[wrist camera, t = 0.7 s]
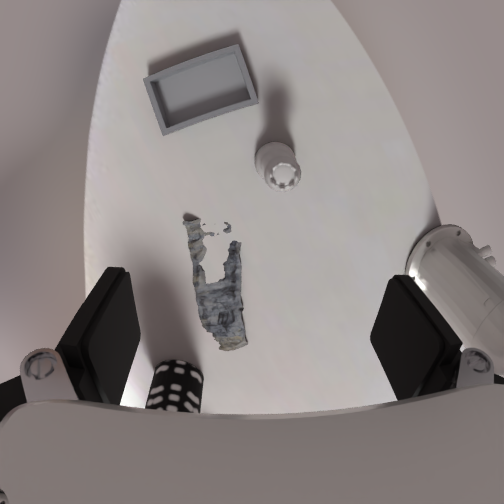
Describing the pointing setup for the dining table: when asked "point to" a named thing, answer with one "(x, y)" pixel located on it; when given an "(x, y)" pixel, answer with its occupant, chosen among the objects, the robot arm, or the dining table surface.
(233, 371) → the dining table surface
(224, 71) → the gray rectangular open tray
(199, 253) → the driftwood
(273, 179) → the rook chess piece
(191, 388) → the white-spotted black cylinder
